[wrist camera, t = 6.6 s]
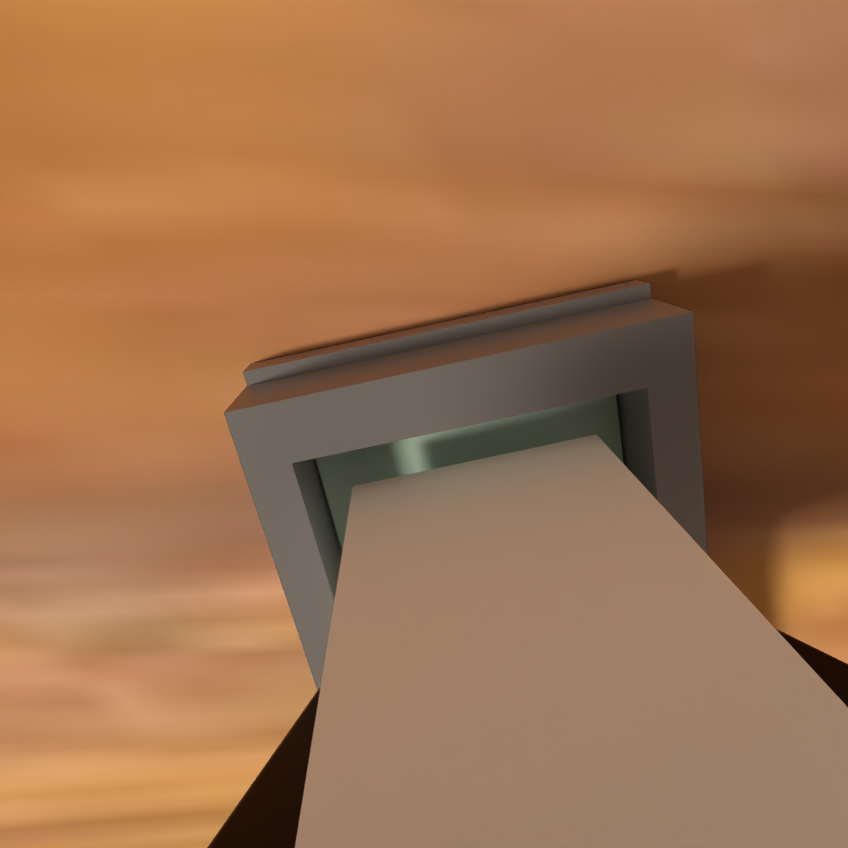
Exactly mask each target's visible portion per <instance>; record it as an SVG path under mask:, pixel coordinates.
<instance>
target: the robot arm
mask: <svg viewBox="0 0 848 848" xmlns="http://www.w3.org/2000/svg"><path fill="white" fill-rule="evenodd" d="M776 630H777V629H776ZM777 631H778V632H779V633H780V634H781V635H782V637H783V638H784V639H785V640H786V641H787V642H788V643H789V644H790V645H791V646H792V647H793V648H794V650H795V651H796V652H797V653H798V654H799V655H800V656H801V657H802V658H803V659H804V660H805V661H806V663H807V664H808V665H809V666H810V667H811V668H812V669H813V670H814V671H815V672H816V673H817V675H818V676H819V677H820V678H821V679H822V680H823V681H824V682H825V683H826V684H827V685H828V686H829V688H830V689H831V690H832V691H833V692H834V693H835V694H836V695H837V696H838V697H839V698H840V700H841V701H842V702H843V703H844V704H845V705H846V706H847V707H848V664H846V663H844V662H842V661H840V660H838V659H836V658H834V657H832V656H830V655H828V654H826V653H824V652H822V651H820V650H818V649H816V648H814V647H812V646H810V645H808V644H806V643H804V642H802V641H800V640H798V639H796V638H793V637H791V636H789V635H787V634H785V633H783V632H781V631H779V630H777ZM319 694H320V688H319V689H318V691H317V692H316V694H315V695H314V697H313V698H312V699H311V701H310V702H309V704H308V705H307V706H306V708H305V709H304V711H303V712H302V714H301V715H300V716H299V718H298V719H297V721H296V722H295V724H294V725H293V726H292V728H291V729H290V731H289V732H288V734H287V735H286V736H285V738H284V739H283V741H282V742H281V744H280V745H279V746H278V748H277V749H276V751H275V752H274V753H273V755H272V756H271V758H270V759H269V761H268V762H267V763H266V765H265V766H264V768H263V769H262V771H261V772H260V773H259V775H258V776H257V778H256V779H255V781H254V782H253V783H252V785H251V786H250V788H249V789H248V791H247V792H246V793H245V795H244V796H243V798H242V799H241V800H240V802H239V803H238V805H237V806H236V808H235V809H234V810H233V812H232V813H231V815H230V816H229V818H228V819H227V820H226V822H225V823H224V825H223V826H222V828H221V829H220V830H219V832H218V833H217V835H216V836H215V838H214V839H213V840H212V842H211V843H210V845H209V846H208V847H207V848H295V843H296V837H297V831H298V825H299V818H300V812H301V806H302V800H303V794H304V787H305V781H306V775H307V769H308V762H309V756H310V750H311V744H312V737H313V731H314V725H315V719H316V712H317V706H318V700H319Z"/></svg>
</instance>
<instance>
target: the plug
mask: <svg viewBox="0 0 848 848" xmlns="http://www.w3.org/2000/svg"><path fill="white" fill-rule="evenodd" d="M295 848H848V707H847V706H846V705H845V704H844V703H843V702H842V701H841V700H840V698H839V697H838V696H837V695H836V694H835V693H834V692H833V691H832V690H831V689H830V688H829V686H828V685H827V684H826V683H825V682H824V681H823V680H822V679H821V678H820V677H819V676H818V675H817V673H816V672H815V671H814V670H813V669H812V668H811V667H810V666H809V665H808V664H807V663H806V661H805V660H804V659H803V658H802V657H801V656H800V655H799V654H798V653H797V652H796V651H795V650H794V648H793V647H792V646H791V645H790V644H789V643H788V642H787V641H786V640H785V639H784V638H783V637H782V635H781V634H780V633H779V632H778V631H777V630H776V629H775V628H774V627H773V626H772V625H771V623H770V622H769V621H768V620H767V619H766V618H765V617H764V616H763V615H762V614H761V613H760V612H759V610H758V609H757V608H756V607H755V606H754V605H753V604H752V603H751V602H750V601H749V600H748V598H747V597H746V596H745V595H744V594H743V593H742V592H741V591H740V590H739V589H738V588H737V587H736V585H735V584H734V583H733V582H732V581H731V580H730V579H729V578H728V577H727V576H726V575H725V574H724V572H723V571H722V570H721V569H720V568H719V567H718V566H717V565H716V564H715V563H714V562H713V560H712V559H711V558H710V557H709V556H708V555H707V554H706V553H705V552H704V551H703V550H702V549H701V547H700V546H699V545H698V544H697V543H696V542H695V541H694V540H693V539H692V538H691V537H690V535H689V534H688V533H687V532H686V531H685V530H684V529H683V528H682V527H681V526H680V525H679V524H678V522H677V521H676V520H675V519H674V518H673V517H672V516H671V515H670V514H669V513H668V512H667V510H666V509H665V508H664V507H663V506H662V505H661V504H660V503H659V502H658V501H657V500H656V499H655V497H654V496H653V495H652V494H651V493H650V492H649V491H648V490H647V489H646V488H645V487H644V486H643V484H642V483H641V482H640V481H639V480H638V479H637V478H636V477H635V476H634V475H633V474H632V472H631V471H630V470H629V469H628V468H627V467H626V466H625V465H624V464H623V463H622V462H621V461H620V459H619V458H618V457H617V456H616V455H615V454H614V453H613V452H612V451H611V450H610V449H609V447H608V446H607V445H606V444H605V443H604V442H603V441H602V440H601V439H600V438H599V437H598V436H597V434H596V435H591V436H586V437H582V438H577V439H572V440H568V441H563V442H558V443H554V444H549V445H544V446H539V447H535V448H530V449H525V450H521V451H516V452H511V453H507V454H502V455H497V456H492V457H488V458H483V459H478V460H474V461H469V462H464V463H459V464H455V465H450V466H445V467H441V468H436V469H431V470H427V471H422V472H417V473H412V474H408V475H403V476H398V477H394V478H389V479H384V480H379V481H375V482H370V483H365V484H361V485H356V486H353V488H352V494H351V500H350V507H349V513H348V519H347V525H346V531H345V538H344V544H343V550H342V556H341V563H340V569H339V575H338V581H337V588H336V594H335V600H334V606H333V613H332V619H331V625H330V631H329V638H328V644H327V650H326V656H325V662H324V669H323V675H322V681H321V687H320V694H319V700H318V706H317V712H316V719H315V725H314V731H313V737H312V744H311V750H310V756H309V762H308V769H307V775H306V781H305V787H304V794H303V800H302V806H301V812H300V818H299V825H298V831H297V837H296V843H295Z"/></svg>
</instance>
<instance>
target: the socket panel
mask: <svg viewBox="0 0 848 848" xmlns="http://www.w3.org/2000/svg"><path fill="white" fill-rule="evenodd" d="M243 374H244V377H245V380H246V383H247V387H246V388H245V389H244V390H243V391H242V393H241V394H240V395H239V396H238V397H237V398H236V399H235V401H234V402H233V403H232V404H231V405H230V406H229V407H228V409H227V410H226V411H225V412H224V415H225V418H226V421H227V424H228V427H229V430H230V433H231V436H232V439H233V442H234V445H235V448H236V451H237V454H238V457H239V459H240V462H241V465H242V468H243V471H244V474H245V477H246V480H247V483H248V486H249V489H250V492H251V495H252V498H253V501H254V504H255V507H256V510H257V513H258V516H259V519H260V522H261V525H262V527H263V530H264V533H265V536H266V539H267V542H268V545H269V548H270V551H271V554H272V557H273V560H274V563H275V566H276V569H277V572H278V575H279V578H280V581H281V584H282V587H283V590H284V593H285V595H286V598H287V601H288V604H289V607H290V610H291V613H292V616H293V619H294V622H295V625H296V628H297V631H298V634H299V637H300V640H301V643H302V646H303V649H304V652H305V655H306V658H307V661H308V664H309V666H310V669H311V672H312V675H313V678H314V681H315V684H316V687H317V690H318V689H319V688H320V687H321V681H322V675H323V669H324V662H325V656H326V650H327V644H328V638H329V631H330V625H331V619H332V613H333V606H334V600H335V594H336V588H337V581H338V575H339V569H340V563H341V556H342V550H343V544H344V538H345V531H346V525H347V519H348V513H349V507H350V500H351V494H352V488H353V486H356V485H361V484H365V483H370V482H375V481H379V480H384V479H389V478H394V477H398V476H403V475H408V474H412V473H417V472H422V471H427V470H431V469H436V468H441V467H445V466H450V465H455V464H459V463H464V462H469V461H474V460H478V459H483V458H488V457H492V456H497V455H502V454H507V453H511V452H516V451H521V450H525V449H530V448H535V447H539V446H544V445H549V444H554V443H558V442H563V441H568V440H572V439H577V438H582V437H586V436H591V435H596V434H597V436H598V437H599V438H600V439H601V440H602V441H603V442H604V443H605V444H606V445H607V446H608V447H609V449H610V450H611V451H612V452H613V453H614V454H615V455H616V456H617V457H618V458H619V459H620V461H621V462H622V463H623V464H624V465H625V466H626V467H627V468H628V469H629V470H630V471H631V472H632V474H633V475H634V476H635V477H636V478H637V479H638V480H639V481H640V482H641V483H642V484H643V486H644V487H645V488H646V489H647V490H648V491H649V492H650V493H651V494H652V495H653V496H654V497H655V499H656V500H657V501H658V502H659V503H660V504H661V505H662V506H663V507H664V508H665V509H666V510H667V512H668V513H669V514H670V515H671V516H672V517H673V518H674V519H675V520H676V521H677V522H678V524H679V525H680V526H681V527H682V528H683V529H684V530H685V531H686V532H687V533H688V534H689V535H690V537H691V538H692V539H693V540H694V541H695V542H696V543H697V544H698V545H699V546H700V547H701V549H702V550H703V551H704V552H705V553H706V554H707V555H708V549H707V533H706V516H705V500H704V484H703V467H702V451H701V435H700V418H699V402H698V386H697V369H696V353H695V337H694V320H693V311H690V310H687V309H683V308H680V307H677V306H674V305H671V304H668V303H665V302H662V301H659V300H656V299H652V298H651V286H650V283H647V282H643V281H640V280H633V281H629V282H624V283H619V284H615V285H610V286H606V287H601V288H597V289H592V290H587V291H583V292H578V293H574V294H569V295H564V296H560V297H555V298H551V299H546V300H541V301H537V302H532V303H528V304H523V305H518V306H514V307H509V308H505V309H500V310H496V311H491V312H486V313H482V314H477V315H473V316H468V317H463V318H459V319H454V320H450V321H445V322H440V323H436V324H431V325H427V326H422V327H417V328H413V329H408V330H404V331H399V332H395V333H390V334H385V335H381V336H376V337H372V338H367V339H362V340H358V341H353V342H349V343H344V344H339V345H335V346H330V347H326V348H321V349H316V350H312V351H307V352H303V353H298V354H293V355H289V356H284V357H280V358H275V359H271V360H266V361H261V362H257V363H252V364H250V365H249V366H248V367H247V368H246V369H245V370H244V371H243Z"/></svg>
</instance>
